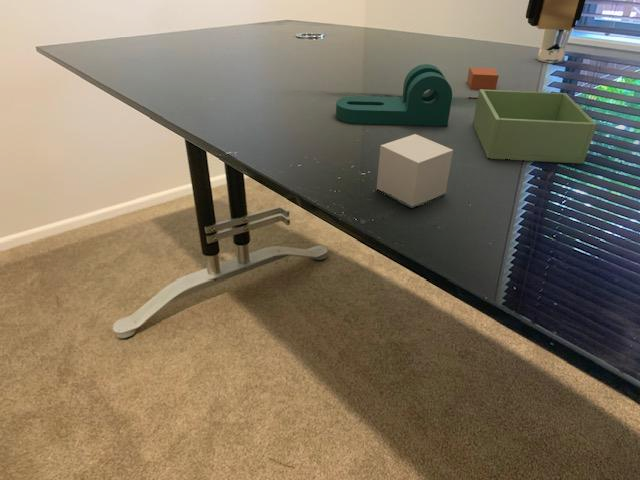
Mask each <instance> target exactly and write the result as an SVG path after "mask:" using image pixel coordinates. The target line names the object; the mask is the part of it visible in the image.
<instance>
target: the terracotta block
mask: <svg viewBox="0 0 640 480" xmlns="http://www.w3.org/2000/svg"><path fill="white" fill-rule="evenodd" d="M498 81H499V73H498V72H497V71H496V69H495V68H493V67H492V68H491V67H469V69H468V74H467V80H466V83H467V85H468V88H469V90H480V89H483V90H484V89H485V90H497V85H498ZM467 99H469V100H478V97H473V96H472V97H471V96H468V97H467Z"/></svg>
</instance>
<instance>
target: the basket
mask: <svg viewBox="0 0 640 480" xmlns="http://www.w3.org/2000/svg"><path fill="white" fill-rule="evenodd" d="M477 98H478V99H476V100H477V101H476V106H475V110H474V114H473V115H474V116H473V121H472V126H473V128H474V130H475V134H476V135H477V137H478V140H479V142H480V145H481V147H482V149H483V151H484V154H485V156H486V158H487V159H488V158H490V159H489V160H505V159H508V160H507V161H523V160H524V161H525V162H543V163H561V164H562V163H563V164H578V165H579V164H580V165H584V163H585V160H586V158H587V156H588V151H589V149H590V146H591V143H592V141H593V138H594V135H595V131H596V128H597V126H598V124H597V123H596V122H595V121H594V120H593V119H592V117H590V116H589V115H588V113H586V111H584V110H583V109H582V107H581V106H579V105H578V103H577V102H575V100H574V99H573V98H571V96H569V95H568V93H566V92H550V91H549V92H548V91H547V92H546V91H526V90H503V89H496V90H485V89H484V90H483V89H480V90H479V91H478V95H477ZM509 159H510V160H509ZM524 161H523V162H524Z"/></svg>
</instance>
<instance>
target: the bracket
mask: <svg viewBox="0 0 640 480" xmlns="http://www.w3.org/2000/svg"><path fill="white" fill-rule="evenodd" d="M452 101H453V90H452V87H451V85H450V83H449V81H448V80H447V79H446V77H445V75H444V74H443V72H442V71H441V70H440V69H439V68H438V67H437V66H435V65H433V64H428V63H424V64H419V65H417V66H415V67H413V68H412V69H410V71H409V72H408V73H407V75H406V76H405V79H404V81H403V88H402V96H401V97H393V96H392V97H391V96H389V97H388V96H355V95H354V96H345V97H341V98H338V99H337V100H336V102H335V103H336V104H335V118H336V119H337V120H339V121H341V122H343V123H347V124H356V125H393V126H394V125H395V126H433V127H434V126H435V127H448V126H449V118H450V113H451V107H452Z"/></svg>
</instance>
